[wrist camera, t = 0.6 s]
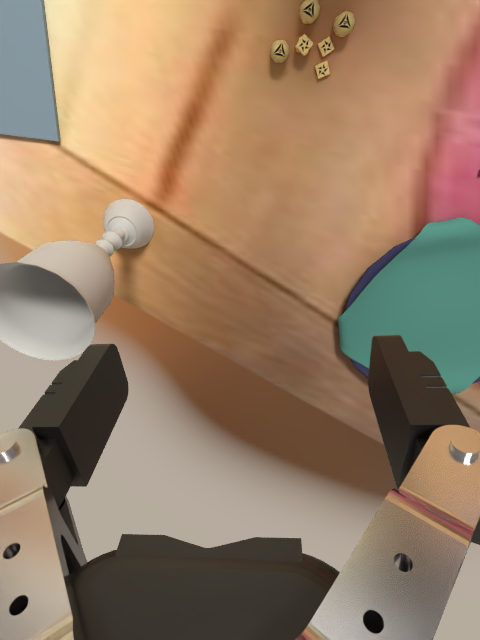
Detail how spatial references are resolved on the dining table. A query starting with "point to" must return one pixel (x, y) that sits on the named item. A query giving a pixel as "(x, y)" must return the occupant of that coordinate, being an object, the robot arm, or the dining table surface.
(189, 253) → the dining table surface
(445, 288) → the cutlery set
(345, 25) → the dice set
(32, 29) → the rubber mat
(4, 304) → the chalice
